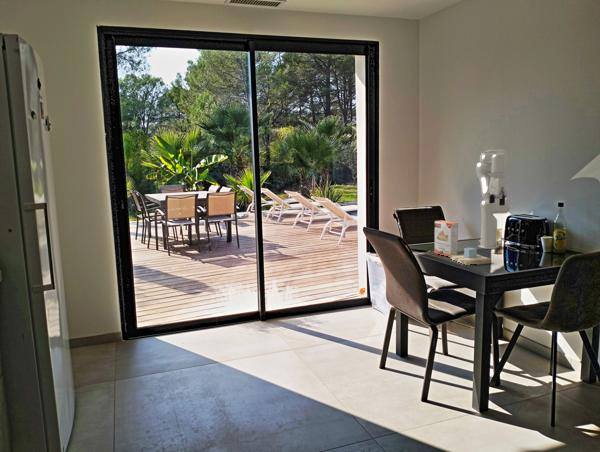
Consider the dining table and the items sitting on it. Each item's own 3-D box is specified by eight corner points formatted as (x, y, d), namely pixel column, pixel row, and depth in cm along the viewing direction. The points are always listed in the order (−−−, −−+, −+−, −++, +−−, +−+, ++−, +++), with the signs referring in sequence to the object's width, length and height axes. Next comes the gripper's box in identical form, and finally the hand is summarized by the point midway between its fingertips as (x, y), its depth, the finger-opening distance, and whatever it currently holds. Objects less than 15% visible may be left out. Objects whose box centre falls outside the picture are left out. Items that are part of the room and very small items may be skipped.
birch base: (450, 259, 283) (450, 255, 283) (474, 257, 287) (474, 253, 286) (465, 265, 268) (465, 261, 267) (490, 263, 272) (491, 258, 271)
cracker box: (433, 254, 298) (434, 220, 295) (441, 253, 301) (441, 219, 298) (450, 258, 286) (451, 223, 283) (457, 257, 289) (458, 222, 285)
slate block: (463, 256, 279) (464, 248, 278) (471, 255, 280) (471, 247, 279) (468, 258, 274) (469, 249, 273) (476, 257, 275) (476, 249, 274)
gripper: (483, 174, 289) (482, 202, 292) (501, 176, 272) (500, 206, 275) (494, 173, 290) (493, 201, 294) (513, 175, 274) (511, 205, 277)
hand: (496, 204), depth 285 cm, fingers open, 9 cm apart
